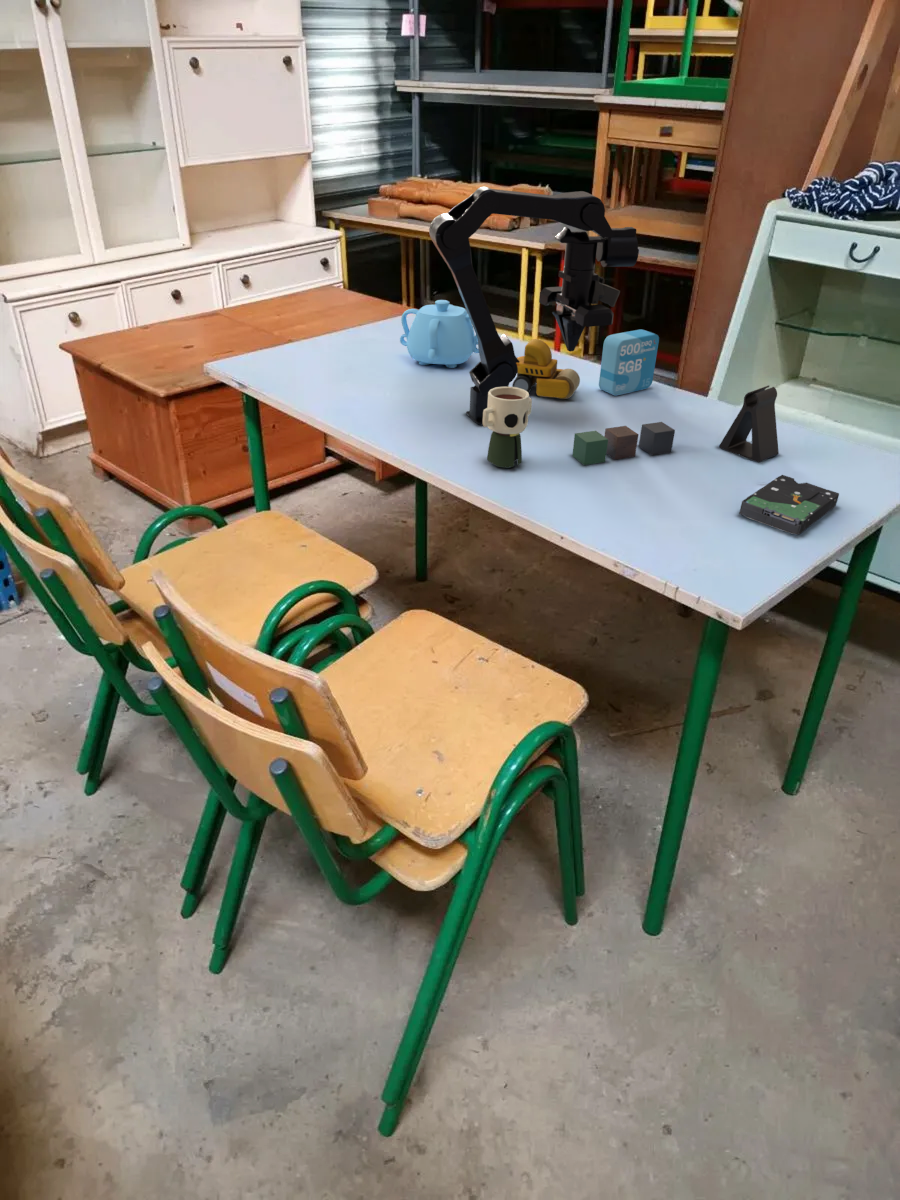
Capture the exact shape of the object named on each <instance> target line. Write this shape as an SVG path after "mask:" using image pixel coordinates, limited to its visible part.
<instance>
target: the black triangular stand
mask: <svg viewBox="0 0 900 1200" xmlns="http://www.w3.org/2000/svg"><path fill="white" fill-rule="evenodd" d="M777 398H778V391H777V389H776V387H774V386H772V387H770V385H765V386H763V387H760V388H757V389H755V390H754V389H753V390H752V391H749V392H747V393H746V394H745V395H744V397H743V403H742V406H741V409H740V410H739V412H738V414H737V415H736V417H735V418H734V420H733V422H732V423H731V425H730V427H729V428H728V430H727V431H726V434H725V435H724V437H723V439H722V440H721V441H720V442H719V445H718V447H719V448H720V449H722V450H724V451H727V452H729V453H732V454H735V455H737V456H740V457H743V458H745V459H747V460H750V461H753V462H756V463H761V462H765V461H766V460H769V459H771V458H774V457H776V456H777V455H779V453H780V451H779V441H778V430H777V429H778V428H777V417H776V405H775V404H776V401H777ZM749 434H751V442H749V441H747V439H748V437H749Z"/></svg>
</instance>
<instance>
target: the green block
mask: <svg viewBox="0 0 900 1200" xmlns="http://www.w3.org/2000/svg"><path fill="white" fill-rule="evenodd" d="M573 436H574V437H573V444H572V455H571V456H572V457H573V458H574V459H576V460H577V462H579V463H580V464H582V465H583V466H589V465H594V464H595V465H596V464H601V463H606V459H607V454H606V452H607V445H608V439H607V438H606V437H604V435H603V434H602V433H600V432H599V431H597V430H589V431H582V432H575V433H574V435H573Z"/></svg>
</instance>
